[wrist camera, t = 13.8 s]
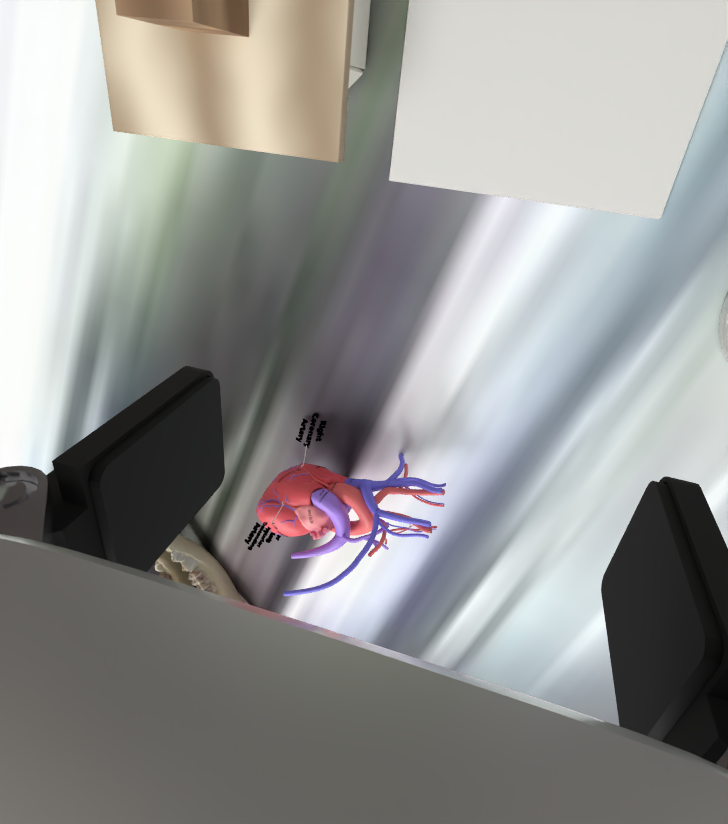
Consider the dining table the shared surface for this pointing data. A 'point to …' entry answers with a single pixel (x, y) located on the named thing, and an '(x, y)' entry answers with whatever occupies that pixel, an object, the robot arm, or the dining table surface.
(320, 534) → the heart model
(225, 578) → the jawbone
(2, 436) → the dining table surface
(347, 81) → the birch lid
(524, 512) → the dining table surface
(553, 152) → the grey mat
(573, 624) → the dining table surface
